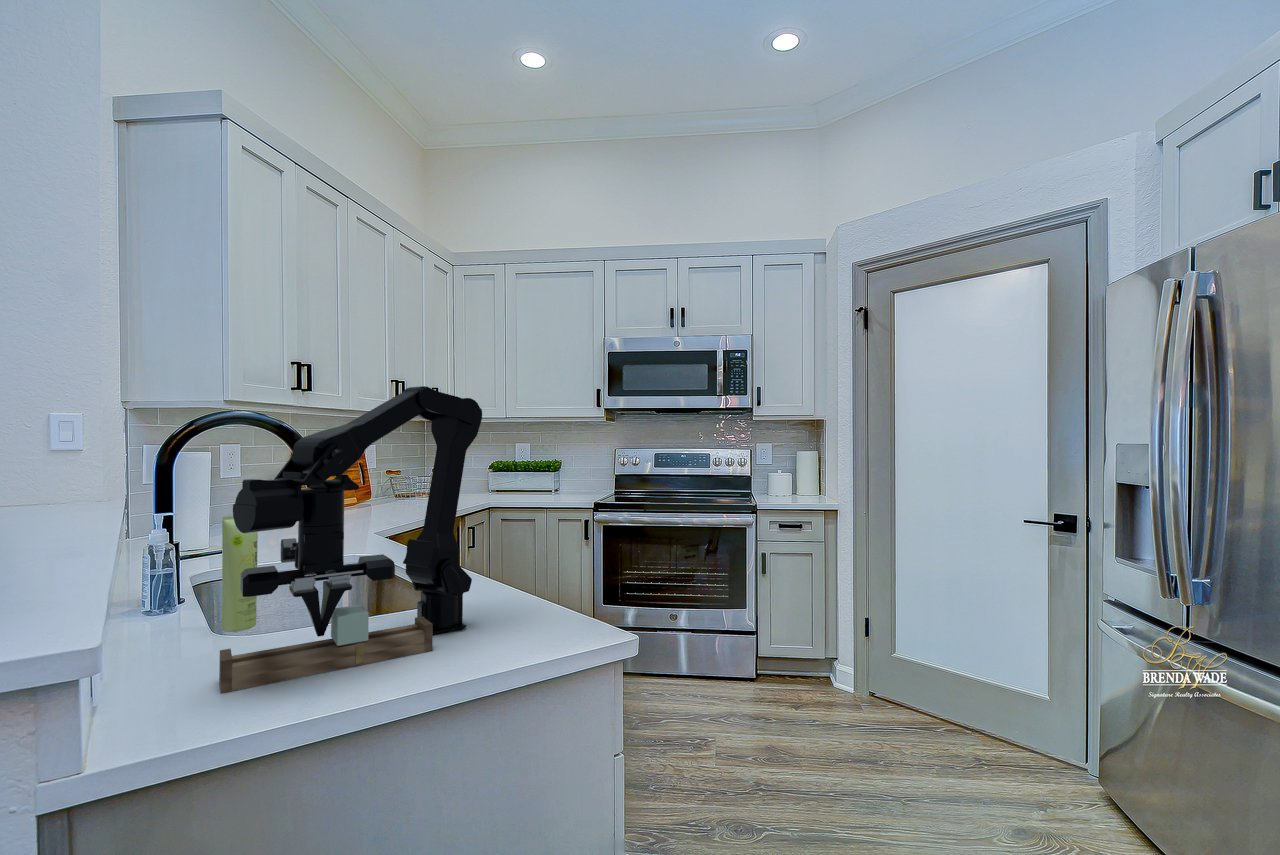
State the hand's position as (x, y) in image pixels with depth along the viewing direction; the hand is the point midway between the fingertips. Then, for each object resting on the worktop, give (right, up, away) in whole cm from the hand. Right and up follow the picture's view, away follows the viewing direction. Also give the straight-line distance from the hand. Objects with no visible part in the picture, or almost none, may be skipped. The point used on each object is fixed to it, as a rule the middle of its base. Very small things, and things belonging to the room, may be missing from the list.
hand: (320, 635), depth 85 cm
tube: (-23, -5, +18) cm, 29 cm away
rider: (+3, -3, +2) cm, 5 cm away
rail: (+1, -4, +1) cm, 5 cm away
